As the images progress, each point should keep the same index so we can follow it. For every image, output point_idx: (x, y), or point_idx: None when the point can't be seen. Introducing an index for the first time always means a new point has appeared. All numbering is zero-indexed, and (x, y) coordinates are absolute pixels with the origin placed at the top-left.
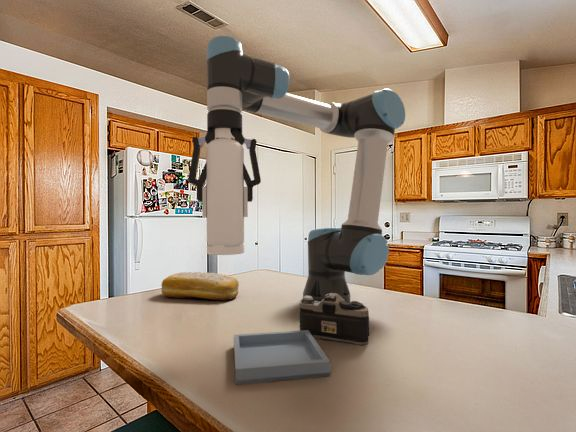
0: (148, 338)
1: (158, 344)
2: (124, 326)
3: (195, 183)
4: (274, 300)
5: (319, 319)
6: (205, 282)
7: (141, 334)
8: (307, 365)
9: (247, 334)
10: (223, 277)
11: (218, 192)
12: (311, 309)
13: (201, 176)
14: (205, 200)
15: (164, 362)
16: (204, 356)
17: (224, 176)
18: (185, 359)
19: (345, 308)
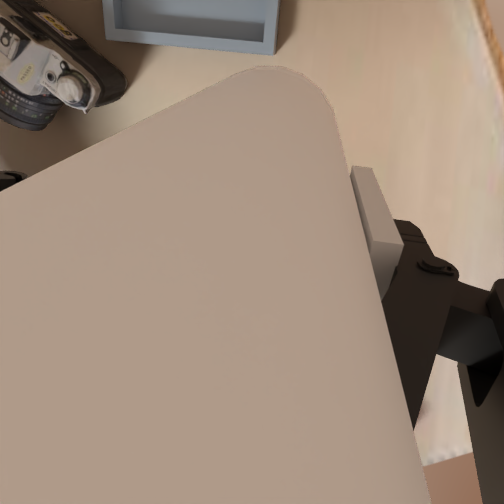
0: (446, 161)
1: (429, 117)
2: (489, 252)
3: (465, 289)
4: None
5: (68, 40)
6: None
7: (458, 190)
8: None
9: (242, 47)
10: None
11: (283, 115)
12: (74, 61)
13: (432, 298)
14: (365, 199)
15: (427, 2)
16: (342, 13)
17: (204, 129)
18: (383, 7)
19: None
